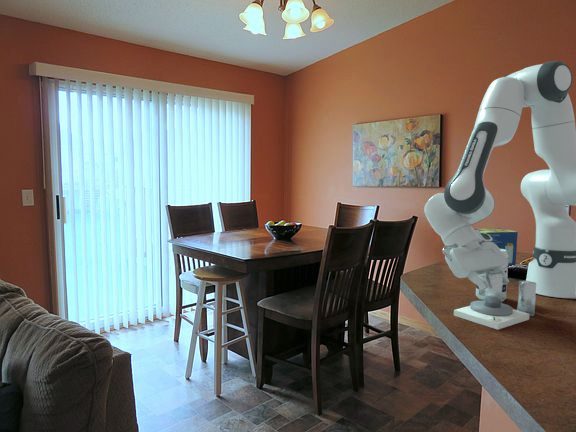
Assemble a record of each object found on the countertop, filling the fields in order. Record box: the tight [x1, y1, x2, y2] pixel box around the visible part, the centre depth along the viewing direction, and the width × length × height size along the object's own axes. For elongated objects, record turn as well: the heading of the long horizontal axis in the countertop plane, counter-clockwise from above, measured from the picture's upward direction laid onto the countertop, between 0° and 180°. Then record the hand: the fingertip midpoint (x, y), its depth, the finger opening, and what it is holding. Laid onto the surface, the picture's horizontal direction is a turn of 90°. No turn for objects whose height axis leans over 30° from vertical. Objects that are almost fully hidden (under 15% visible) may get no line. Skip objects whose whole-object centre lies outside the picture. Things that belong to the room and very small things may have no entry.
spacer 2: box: [516, 280, 537, 317], centre depth 111 cm, size 4×4×8 cm
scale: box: [453, 300, 530, 331], centre depth 108 cm, size 14×12×2 cm
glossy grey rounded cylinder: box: [483, 272, 503, 308], centre depth 109 cm, size 4×4×8 cm
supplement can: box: [475, 248, 509, 303], centre depth 124 cm, size 8×8×15 cm
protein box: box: [473, 227, 519, 267], centre depth 168 cm, size 10×15×16 cm
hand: (495, 286), depth 108 cm, fingers open, 8 cm apart
